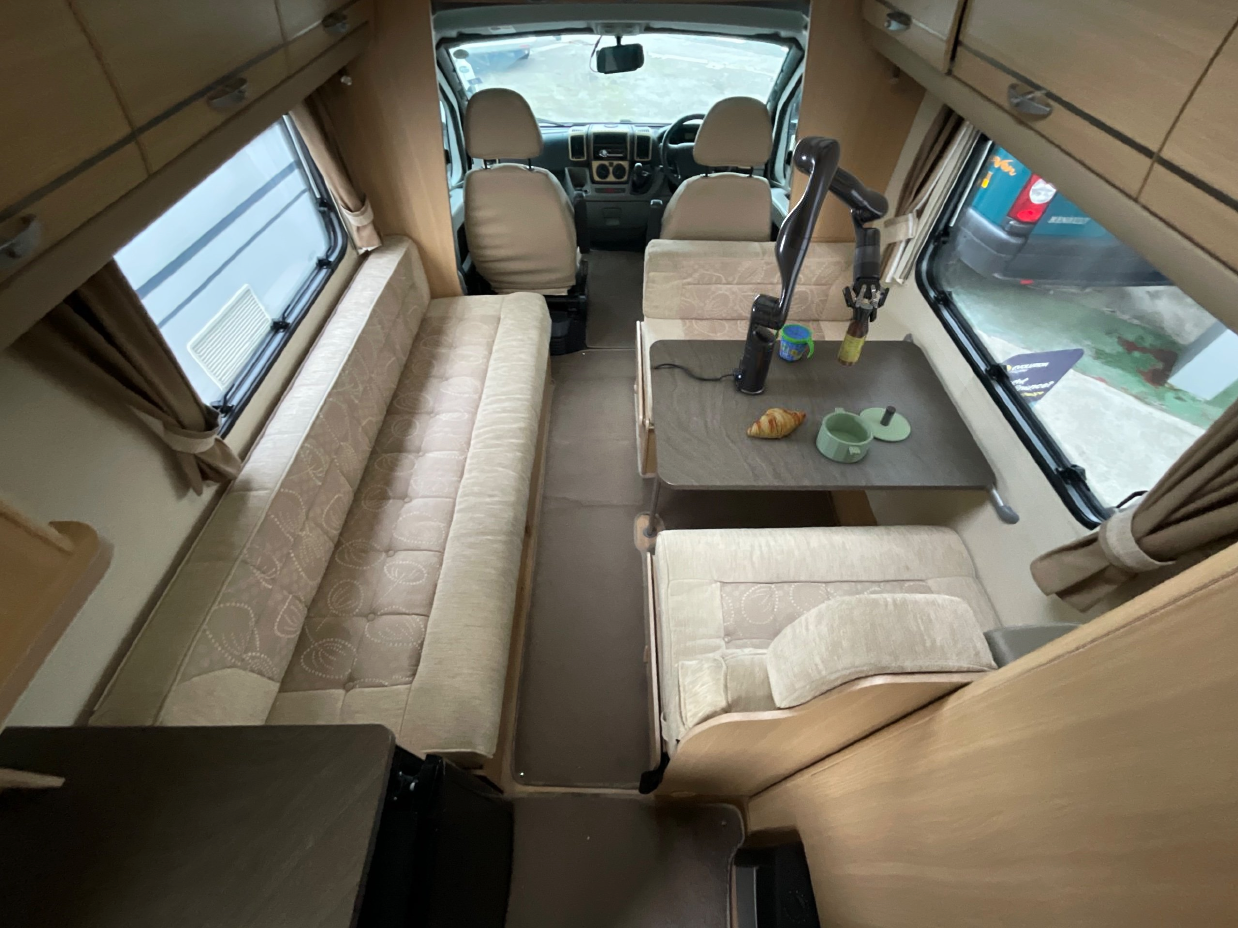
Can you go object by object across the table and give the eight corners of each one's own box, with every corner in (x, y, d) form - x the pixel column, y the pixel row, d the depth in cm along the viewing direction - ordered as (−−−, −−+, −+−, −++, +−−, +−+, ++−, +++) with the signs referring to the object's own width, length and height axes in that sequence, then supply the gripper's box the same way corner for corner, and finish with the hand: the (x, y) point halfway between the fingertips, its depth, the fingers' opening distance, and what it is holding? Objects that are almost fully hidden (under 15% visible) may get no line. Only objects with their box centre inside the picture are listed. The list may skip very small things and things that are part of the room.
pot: (824, 468, 163) (831, 450, 158) (809, 423, 177) (816, 405, 172) (873, 470, 163) (883, 452, 158) (855, 424, 177) (863, 406, 172)
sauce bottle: (858, 367, 179) (881, 312, 165) (839, 366, 179) (860, 311, 165) (852, 355, 184) (874, 301, 170) (834, 355, 184) (853, 300, 170)
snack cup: (816, 361, 201) (824, 337, 194) (796, 371, 197) (803, 347, 189) (784, 341, 210) (790, 317, 203) (764, 350, 205) (770, 326, 198)
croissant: (750, 451, 173) (761, 442, 165) (736, 422, 175) (747, 412, 167) (805, 431, 179) (818, 422, 171) (791, 404, 181) (804, 393, 174)
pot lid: (865, 441, 172) (873, 424, 167) (852, 409, 183) (859, 392, 178) (916, 443, 172) (925, 426, 167) (899, 410, 183) (908, 393, 178)
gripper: (884, 269, 172) (882, 325, 172) (838, 268, 172) (836, 323, 172) (896, 261, 165) (893, 319, 165) (848, 259, 165) (845, 317, 165)
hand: (864, 321), depth 169 cm, fingers closed on sauce bottle, 4 cm apart
